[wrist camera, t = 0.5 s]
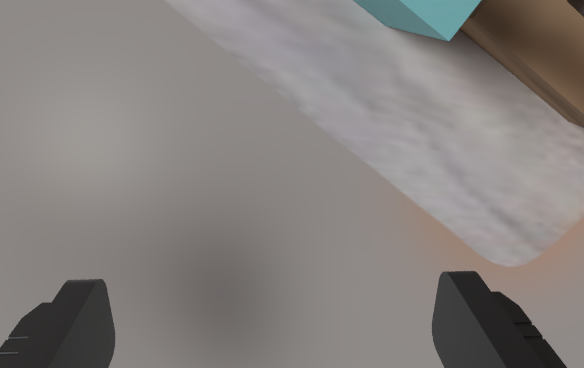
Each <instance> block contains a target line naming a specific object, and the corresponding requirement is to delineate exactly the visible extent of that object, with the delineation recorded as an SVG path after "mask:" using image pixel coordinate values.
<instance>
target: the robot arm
mask: <svg viewBox="0 0 584 368" xmlns="http://www.w3.org/2000/svg"><path fill="white" fill-rule="evenodd" d="M432 335H433V341H434V345H435V348H436V351H437V353H438V355H439V357H440V359H441V361H442V363H443V365H444V368H567V367H566V366H565V364H564V363H563V362H562V361H561V359H560V358H559V357H558V355H557V354H556V353H555V351H554V350H553V349H552V348H551V346H550V345H549V344H548V343H547V341H546V340H545V339H543V338H542V335H541V333H540V332H539V331H538V330H537V328H536V327H535V326H534V325H532V322H531V321H530V320H529V318H528V317H527V315H526V314H525V313H524V312H523V310H522V309H521V308H520V306H519V305H517V304H516V303H515V302H513V301H512V300H510V299H509V298H507V297H506V296H505V295H503V294H502V293H501V292H491V291H490V290H489V288H488V287H487V285H486V284H485V283H484V281H483V280H482V279H481V277H480V276H479V274H478V273H477V272H475V271H456V272H443V273H442V274H441V275H440V278H439V284H438V289H437V295H436V301H435V308H434V314H433V320H432ZM114 347H115V329H114V324H113V319H112V313H111V308H110V303H109V298H108V292H107V288H106V284H105V282H104V281H103V280H102V279H93V280H92V279H89V280H68V281H67V282H66V283H65V284H64V285H63V286H62V288H61V290H60V291H59V292H58V294H57V295H56V297H55V298H54V300H53V301H52V303H41V304H40V305H39V306H37V307H36V308H35V309H33V310H32V311H31V312H29V313H28V314H27V315H25V316H24V317H23V318H22V319H21V320H20V322H19V323H18V325H16V327H15V328H14V330H13V331H12V332H11V334H10V335H9V339H8V340H6V341H5V342H4V343H3V345H2V346H1V347H0V368H108V367H109V364H110V362H111V359H112V356H113V353H114Z"/></svg>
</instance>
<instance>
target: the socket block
mask: <svg viewBox="0 0 584 368" xmlns="http://www.w3.org/2000/svg"><path fill="white" fill-rule="evenodd" d="M459 29H460V30H461V31H462V32H464V33H465V34H466V35H467V36H468V37H470V38H471V39H472V40H473V41H474V42H475V43H477V44H478V45H479V46H480V47H481V48H483V49H484V50H485V51H486V52H487V53H488V54H490V55H491V56H492V57H493V58H494V59H496V60H497V61H498V62H499V63H500V64H502V65H503V66H504V67H505V68H506V69H507V70H509V71H510V72H511V73H512V74H513V75H515V76H516V77H517V78H518V79H519V80H520V81H522V82H523V83H524V84H525V85H526V86H528V87H529V88H530V89H531V90H532V91H533V92H535V93H536V94H537V95H538V96H539V97H541V98H542V99H543V100H544V101H545V102H546V103H548V104H549V105H550V106H551V107H552V108H554V109H555V110H556V111H557V112H558V113H559V114H561V115H562V116H563V117H564V118H565V119H567V120H568V121H569V122H572V123H574V124H577V125H579V126H582V127H584V17H583V16H582V15H581V14H580V13H579V12H578V11H577V10H576V9H574V8H573V7H572V6H571V5H570V4H569V3H568V2H567V0H481V1H480V3H479V4H478V5H477V6H476V8H475V9H474V10H473V12H472V13H471V14H470V15H469V17H468V18H467V19H466V20H465V22H464V23H463V24H462V26H461V27H460V28H459Z"/></svg>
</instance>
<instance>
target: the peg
mask: <svg viewBox="0 0 584 368" xmlns="http://www.w3.org/2000/svg"><path fill="white" fill-rule="evenodd" d="M354 1H355V2H356V3H357V4H359V5H360V6H361V7H362V8H364V9H365V10H366V11H368V12H369V13H370V14H371V15H373V16H374V17H375V18H376V19H378V20H379V21H380V22H381V23H383V24H384V25H385V26H388V27H392V28H396V29H400V30H404V31H409V32H413V33H417V34H421V35H425V36H429V37H433V38H437V39H441V40H445V41H450V40H451V38H452V37H453V36H454V35H455V33H456V32H457V31H458V29H459V28H460V27H461V26H462V24H463V23H464V22H465V20H466V19H467V18H468V17H469V15H470V14H471V13H472V12H473V10H474V9H475V8H476V6H477V5H478V4H479V3H480V1H481V0H354Z"/></svg>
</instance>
